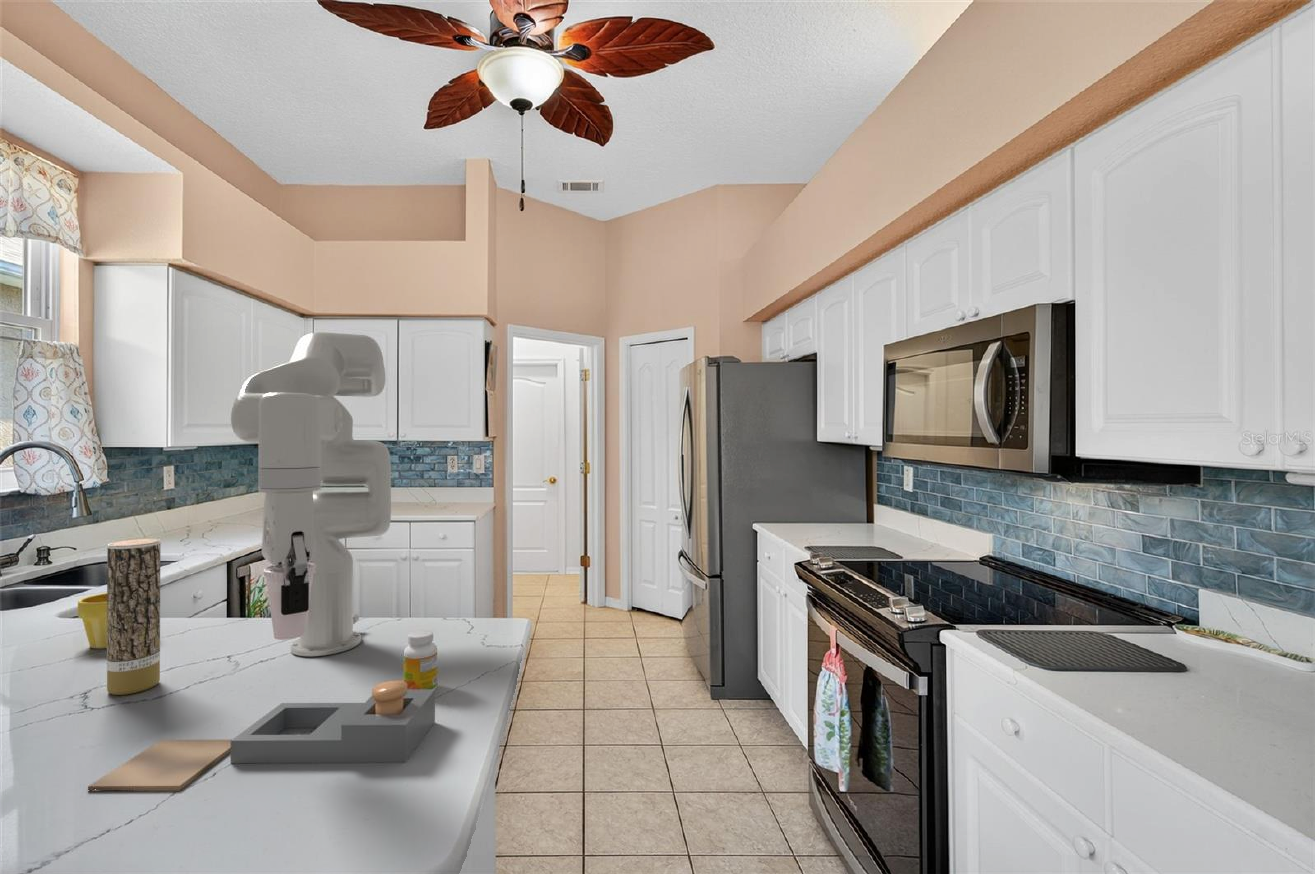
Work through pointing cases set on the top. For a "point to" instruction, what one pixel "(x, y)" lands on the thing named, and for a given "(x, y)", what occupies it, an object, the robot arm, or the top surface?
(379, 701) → the tan mushroom
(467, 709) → the top surface
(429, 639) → the supplement bottle
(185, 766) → the mat
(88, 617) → the plant pot
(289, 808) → the top surface
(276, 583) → the smoothie
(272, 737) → the grey holder
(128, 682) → the bark pattern canister
